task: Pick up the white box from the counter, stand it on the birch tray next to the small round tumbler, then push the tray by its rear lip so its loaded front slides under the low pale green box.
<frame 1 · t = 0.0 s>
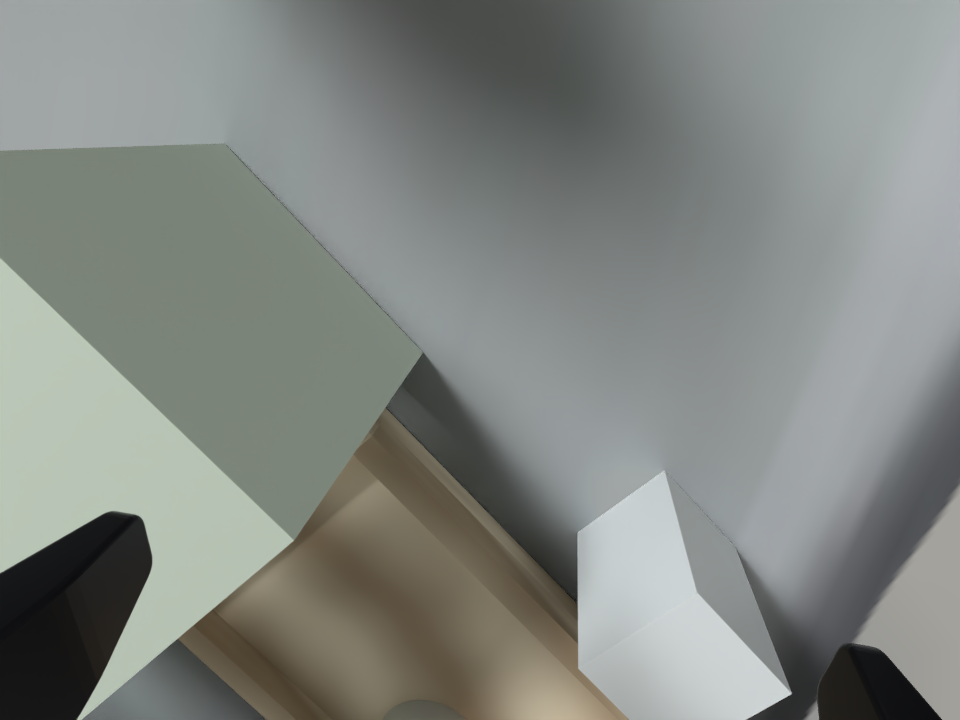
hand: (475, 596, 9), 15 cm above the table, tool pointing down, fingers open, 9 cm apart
tray: (413, 679, 27), point 2 cm above the table, slide at 0.0 cm, touching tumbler
white box: (655, 540, 26), on the table
pale green box: (176, 402, 26), on the table
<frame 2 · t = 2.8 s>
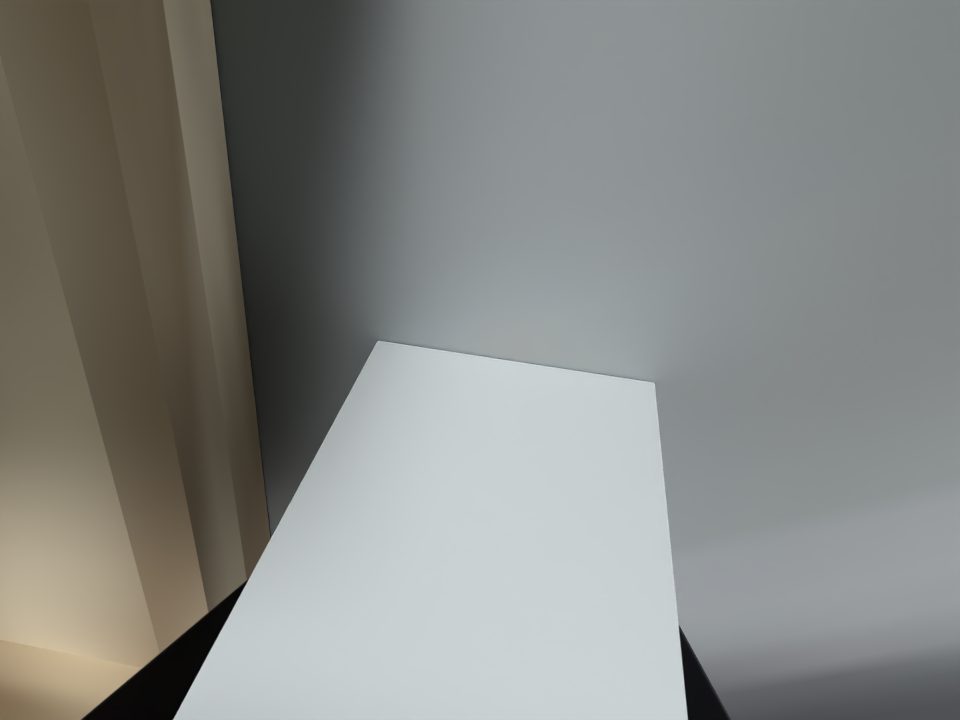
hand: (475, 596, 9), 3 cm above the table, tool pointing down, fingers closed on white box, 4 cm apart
white box: (500, 466, 11), on the table, touching gripper
when the fingers open (4 cm above the table, at t = 6.7 s): white box stays where it is, resting on tray.
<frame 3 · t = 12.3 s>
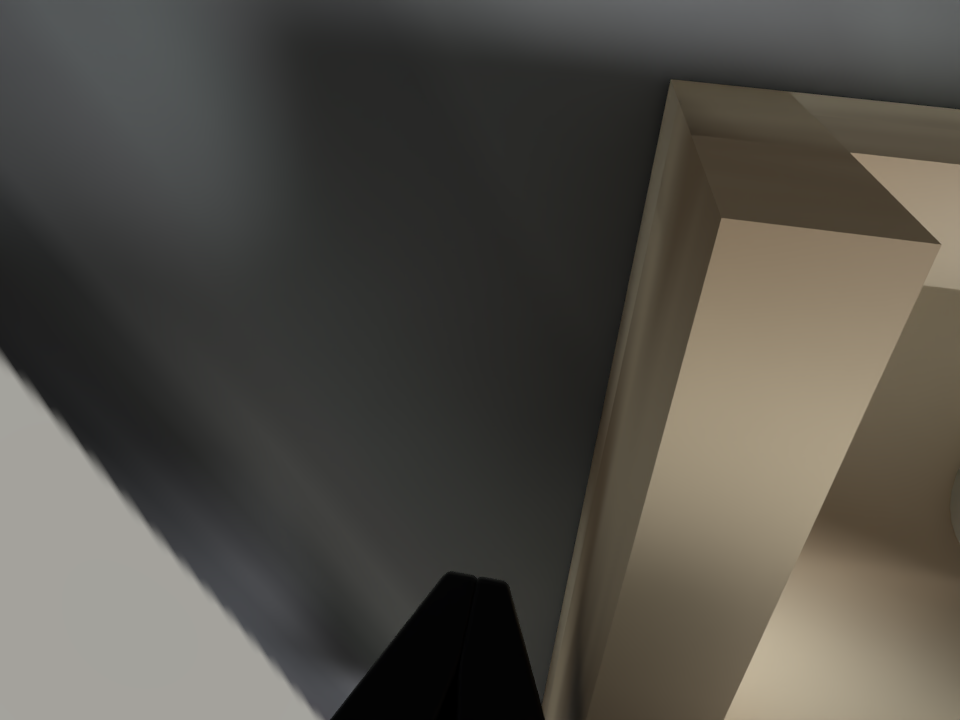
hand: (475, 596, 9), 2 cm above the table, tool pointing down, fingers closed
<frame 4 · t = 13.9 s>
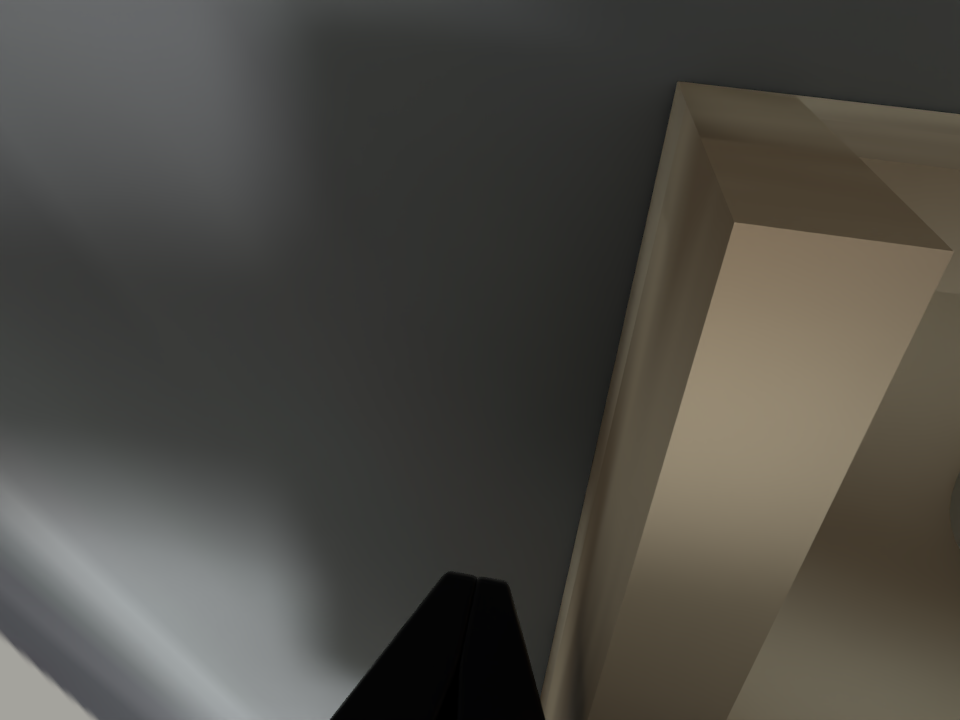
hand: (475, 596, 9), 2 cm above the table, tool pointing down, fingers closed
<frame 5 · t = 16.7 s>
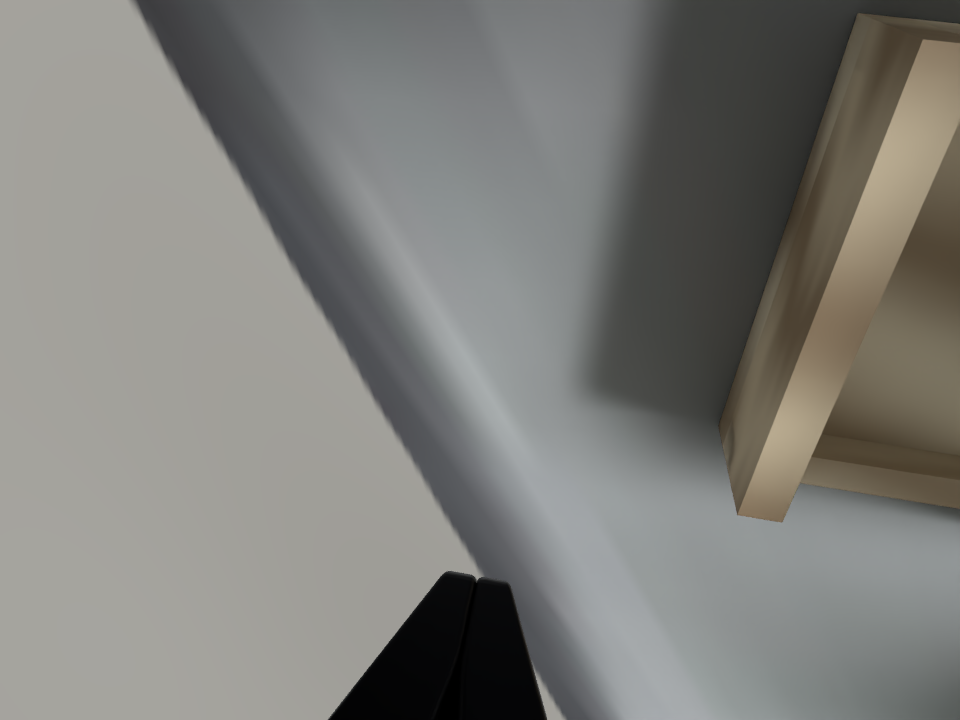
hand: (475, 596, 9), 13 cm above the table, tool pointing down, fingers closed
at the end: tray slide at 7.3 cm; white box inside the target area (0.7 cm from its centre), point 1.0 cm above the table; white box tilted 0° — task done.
